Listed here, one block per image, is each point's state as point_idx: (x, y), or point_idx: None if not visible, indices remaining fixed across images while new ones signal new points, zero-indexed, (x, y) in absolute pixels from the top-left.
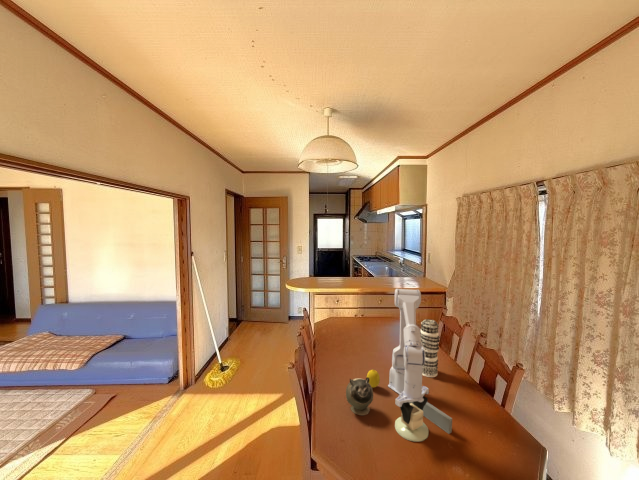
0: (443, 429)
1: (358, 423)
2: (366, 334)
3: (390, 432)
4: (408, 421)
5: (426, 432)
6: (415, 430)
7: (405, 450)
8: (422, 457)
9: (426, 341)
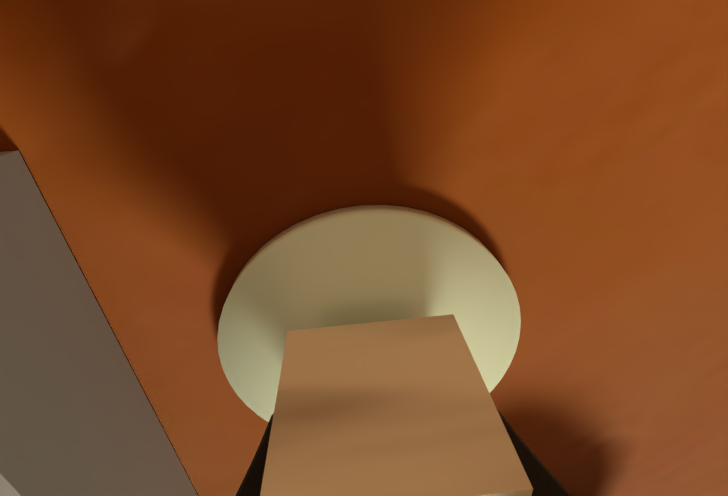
0: (49, 222)
1: (634, 468)
2: None
3: (542, 365)
4: (502, 416)
5: (288, 257)
6: (373, 313)
7: (626, 190)
8: (583, 39)
9: None
